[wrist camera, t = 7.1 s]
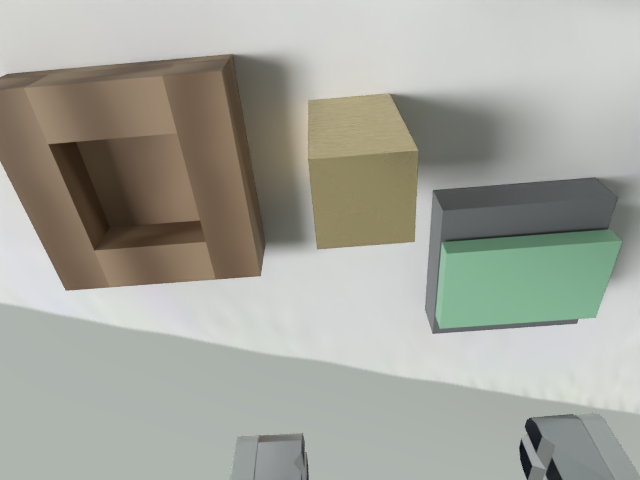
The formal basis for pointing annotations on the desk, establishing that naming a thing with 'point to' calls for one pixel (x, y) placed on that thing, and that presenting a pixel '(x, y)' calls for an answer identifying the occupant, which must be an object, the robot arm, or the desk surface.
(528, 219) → the block
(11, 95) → the brown square frame
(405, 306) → the desk surface
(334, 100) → the block
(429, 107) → the desk surface
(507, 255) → the button
